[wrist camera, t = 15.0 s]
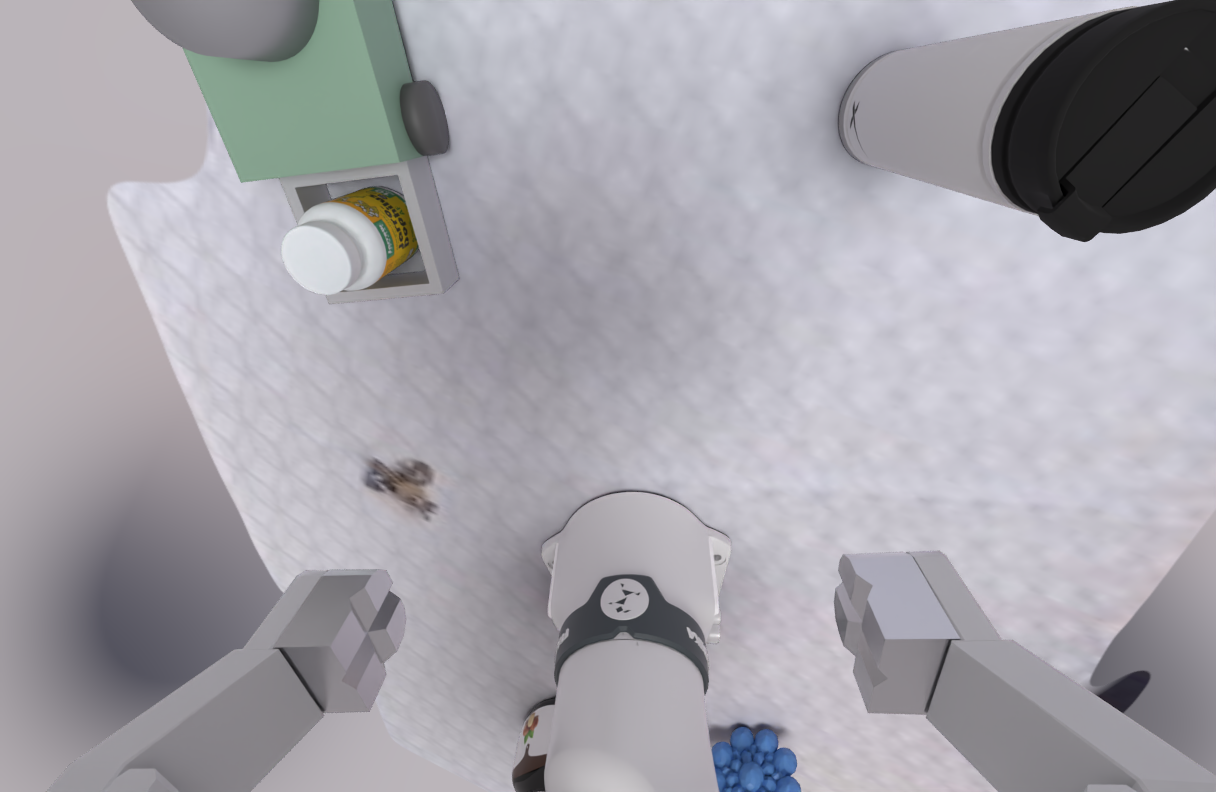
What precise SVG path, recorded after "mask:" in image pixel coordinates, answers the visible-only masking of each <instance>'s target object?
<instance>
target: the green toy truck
mask: <svg viewBox="0 0 1216 792" xmlns="http://www.w3.org/2000/svg"><path fill="white" fill-rule="evenodd" d="M131 1H132V2H133V4H134V5H135V6H136V8H137V9H138V10H139V12H140V13H141V14H142V15H143V16H144V17H145V18H146V20H147V21H148V22H149V23H150V24H152V26H154V27H155V28H156V29H157V30H158V31H159V32H160V33H161V34H163V35H164V36H165V37H166V38H168V39H169V40H171V41H172V42H174V43H175V44H177V45H179V46H181V47H182V48H183V50H184V52H185V55H186V57H187V59H188V61H189V64H190V66H191V68H192V71H193V73H194V75H195V77H196V80H197V82H198V84H199V87H200V89H201V91H202V94H203V96H204V98H205V101H206V103H207V105H208V108H209V110H210V112H211V114H212V117H213V119H214V121H215V124H216V126H217V128H218V131H219V133H220V135H221V137H222V140H223V142H224V144H225V147H226V149H227V151H228V154H229V156H230V158H231V160H232V163H233V165H234V167H235V170H236V172H237V174H238V177H239V179H240V181H241V183H242V182H250V181H257V180H265V179H273V178H279V180H280V182H281V185H282V187H283V190H284V192H285V195H286V197H287V200H288V202H289V205H290V207H291V210H292V212H293V215H294V217H295V220H296V222H297V225H298V222H299V220H300V218H301V217H302V215H303V214H304V213H305V212H306V211H307V210H309V209H310V208H312V207H313V206H315V205H318V204H321V203H323V202H326V201H329V200H331V198H330V195H329V192H328V189H327V187H326V184H328V183H337V182H345V181H353V180H361V179H369V178H377V177H385V176H393V175H398V178H399V181H400V184H401V188H402V191H403V195H404V198H405V201H406V205H407V208H408V212H409V215H410V218H411V222H412V225H413V229H414V232H415V236H416V239H417V242H418V246H419V249H420V253H421V256H422V259H423V263H424V266H425V270H426V271H423V272H413V273H403V274H393V275H385V276H384V277H382V278H381V279H380V280H378V281H377V282H376V283H374V284H373V285H371V286H369V287H367V288H364V289H361V290H355V291H347V290H343V291H341V292H339V293H336V294H332V295H326V298H327V300H328V303H329V304H340V303H350V302H361V301H371V300H382V299H392V298H403V297H413V296H424V295H434V294H444V293H445V292H446V291H447V290H448V289H449V288H450V287H451V286H452V285H453V284H454V283H455V282H456V281H457V280H458V279H460V278H459V275H458V271H457V267H456V263H455V259H454V256H453V252H452V248H451V244H450V240H449V237H448V233H447V229H446V225H445V221H444V217H443V214H442V210H441V206H440V202H439V198H438V195H437V191H436V187H435V183H434V179H433V176H432V172H431V168H430V164H429V160H428V157H427V156H428V155H436V154H443V153H445V152H446V151H447V148H448V142H449V135H448V126H447V120H446V116H445V112H444V109H443V106H442V103H441V100H440V98H439V96H438V94H437V92H436V90H435V88H434V87H433V86H432V84H431V83H430V82H428V81H426V80H425V81H418V82H413V81H412V77H411V74H410V70H409V66H408V62H407V58H406V54H405V50H404V47H403V43H402V39H401V35H400V31H399V27H398V23H397V20H396V16H395V12H394V8H393V4H392V0H131Z"/></svg>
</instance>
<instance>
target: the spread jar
mask: <svg viewBox="0 0 1216 792" xmlns="http://www.w3.org/2000/svg"><path fill="white" fill-rule="evenodd" d="M555 700H556V698H554V699H548V700H545V701H543V702H541V703H539V704H538V705H537V706H536V707H535V708H534V709H533V710H532V711H531V713H530V714H529V715H528V717H527V719H526V720H525V722H524V724H523V727H522V729H521V732H520V736H519V740H518V744H517V749H516V754H515V759H514V764H513V772H512V781H513V786H514V789H515V791H516V792H546V791H545V783H544V771H545V764H546V758H547V751H548V745H549V738H550V732H551V725H552V719H553V712H554V706H555Z"/></svg>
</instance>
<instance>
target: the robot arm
mask: <svg viewBox="0 0 1216 792" xmlns="http://www.w3.org/2000/svg"><path fill="white" fill-rule="evenodd" d="M730 554H731V541H730V539H729V538H728V537H727V536H726V535H724V534H722V533H720V532H718V531H716V530H713V529H711V528H708V527H706V526H705V525H704V524H703V523H701V522H700V521H699V520H698V519H697V517H696V516H695V515H694V514H693V513H691V512H690V511H689V510H688V509H686V508H685V507H684V506H682V505H680V504H679V503H677V502H675V501H673V500H670V499H668V498H665V497H662V496H659V495H655V494H650V493H643V492H622V493H615V494H610V495H606V496H603V497H600V498H597V499H595V500H593V501H591V502H589V503H587V504H586V505H584V506H583V507H581V508H580V509H579V510H578V511H577V512H576V513H575V514H574V515H573V516H572V517H571V518H570V520H569V521H568V523H567V525H566V526H565V528H564V529H563V530H562V531H561V532H560V533H559V534H557V535H555V536H553V537H552V538H550V539H549V540H547V541H546V542H545V543H544V544H543V545H542V552H541V556H542V559H543V561H544V563H545V565H546V567H547V568H548V570H549V572H550V574H551V576H552V579H551V586H550V594H549V602H548V616H549V617H550V618H552V621H553V623H554V625H555V627H556V628H557V630H558V631H559V632H560V635H559V641H558V643H557V647H556V652H555V672H554V676H555V682H556V685H557V693H556V700H555V706H554V712H553V719H552V725H551V732H550V738H549V745H548V751H547V758H546V764H545V771H544V783H545V791H546V792H719V788H718V783H717V777H716V772H715V766H714V761H713V755H712V749H711V742H710V736H709V729H708V721H707V714H706V705H705V694H706V692H707V689H708V683H709V679H708V673H709V659H708V653H707V650H706V643H709V644H717V643H719V639H720V622H721V612H720V609H719V601H718V597H719V594H720V590H721V587H722V583H723V579H724V576H725V572H726V569H727V565H728V562H729V558H730ZM838 571H839V574H840V576H841V579H842V581H843V582H842V583H841V584H840V585H839V586H838V587H837V588H835V598H834V607H835V618H836V622H837V626H838V631H839V634H840V637H841V640H842V642H843V645H844V647H845V648H847V649H848V650H849V651H850V652H851V653H852V654H853V655H855V656H856V658H855V663H854V669H853V673H854V676H855V679H856V681H857V684H858V687H859V690H860V692H861V695H862V698H863V700H864V703H865V706H866V709H867V711H868V713H887V714H920V715H927V716H926V718H927V719H928V720H929V721H930V722H931V723H932V724H933V725H934V726H935V728H936V729H937V730H938V731H939V732H940V733H941V734H942V735H943V736H944V737H945V738H946V739H947V740H948V741H949V742H950V743H951V744H952V745H953V746H954V747H955V748H956V749H957V750H958V751H959V752H960V753H961V754H962V755H963V756H964V757H965V758H966V759H967V760H968V761H969V762H970V763H971V764H972V765H973V766H974V767H975V768H976V769H977V770H978V771H979V773H980V774H981V775H982V776H983V777H984V778H985V779H986V780H987V781H988V782H989V783H990V784H991V785H992V786H993V787H994V788H995V789H996V790H997V791H998V792H1216V776H1215V775H1214V774H1212V773H1211V772H1209V771H1207V770H1206V769H1205V768H1203V767H1202V766H1200V765H1199V764H1197V763H1196V762H1194V761H1193V760H1191V759H1190V758H1188V757H1187V756H1185V755H1184V754H1182V753H1181V752H1179V751H1178V750H1176V749H1175V748H1173V747H1172V746H1170V745H1169V744H1168V743H1166V742H1164V741H1163V740H1162V739H1160V738H1158V737H1157V736H1156V735H1154V734H1152V733H1151V732H1150V731H1148V730H1147V729H1145V728H1144V727H1142V726H1141V725H1139V724H1137V723H1136V722H1135V721H1133V720H1132V719H1130V718H1129V717H1127V716H1126V715H1124V714H1123V713H1121V712H1120V711H1118V710H1117V709H1115V708H1114V707H1112V706H1111V705H1109V704H1108V703H1106V702H1105V701H1103V700H1102V699H1100V698H1099V697H1097V696H1096V695H1094V694H1093V693H1091V692H1090V691H1088V690H1087V689H1085V688H1084V687H1083V686H1081V685H1080V684H1078V683H1077V682H1075V681H1074V680H1072V679H1071V678H1069V677H1068V676H1066V675H1065V674H1063V673H1062V672H1060V671H1059V670H1057V669H1056V668H1054V667H1053V666H1051V665H1050V664H1048V663H1047V662H1045V661H1044V660H1042V659H1041V658H1039V657H1038V656H1036V655H1035V654H1033V653H1032V652H1030V651H1029V650H1027V649H1026V648H1024V647H1023V646H1021V645H1020V644H1018V643H1017V642H1015V641H1014V640H1002V639H1001V637H1000V636H999V634H998V633H997V631H996V630H995V628H994V627H993V625H992V624H991V622H990V621H989V619H988V618H987V616H986V615H985V613H984V612H983V610H982V609H981V607H980V606H979V604H978V603H977V601H976V600H975V598H974V597H973V595H972V594H971V592H970V591H969V589H968V588H967V586H966V585H965V583H964V582H963V580H962V579H961V577H960V576H959V574H958V573H957V571H956V570H955V568H954V567H953V565H952V564H951V562H950V561H949V559H948V558H947V556H946V555H945V554H943V553H942V552H940V551H919V552H906V553H905V552H886V553H862V554H843V555H842V557H841V559H840V562H839V568H838ZM392 584H393V581H392V580H391V578H390V576H389V574H388V572H387V570H379V569H359V570H306V571H304V572H302V573H301V574H299V575H298V576H296V578H295V579H294V580H293V582H292V583H291V584H290V586H289V587H288V589H287V590H286V591H285V593H284V594H283V595H282V597H281V598H280V599H279V601H278V602H277V603H276V605H275V606H274V608H273V609H272V610H271V611H270V613H269V614H268V616H267V617H266V618H265V620H264V621H263V622H262V624H261V625H260V626H259V628H258V629H257V630H256V632H255V633H254V635H253V636H252V637H251V639H250V640H249V641H248V643H247V644H246V645H245V647H244V648H243V649H236V650H233V651H232V652H230V653H229V654H227V655H226V656H225V657H223V658H222V659H220V660H219V661H217V662H216V663H214V664H213V665H212V666H210V667H209V668H207V669H206V670H204V671H203V672H202V673H200V674H199V675H197V676H196V677H194V678H193V679H192V680H190V681H189V682H187V683H186V684H184V685H183V686H181V687H180V688H179V689H177V690H176V691H174V692H173V693H171V694H170V695H169V696H167V697H166V698H164V699H163V700H161V701H160V702H158V703H157V704H156V705H154V706H153V707H151V708H150V709H148V710H147V711H145V712H144V713H143V714H141V715H140V716H138V717H137V718H136V719H134V720H133V721H131V722H130V723H128V724H127V725H125V726H124V727H123V728H121V729H120V730H118V731H117V732H115V733H114V734H112V735H111V736H110V737H108V738H107V739H105V740H104V741H103V742H101V743H100V744H98V745H97V746H95V747H94V748H92V749H91V750H89V751H88V752H87V753H85V754H84V755H82V756H81V757H79V758H78V759H76V760H75V761H74V762H72V763H71V764H69V766H68V767H67V768H66V769H65V770H64V771H63V773H62V774H61V775H60V776H59V777H58V779H57V780H56V781H55V782H54V783H53V784H52V785H51V786H50V788H49V789H48V790H47V791H46V792H251V791H252V790H253V789H254V787H256V785H257V784H258V783H259V782H260V781H261V780H262V779H263V778H264V777H265V776H266V775H267V774H268V773H269V772H270V771H271V770H272V769H273V768H274V767H275V766H276V765H277V764H278V763H279V762H280V761H281V760H282V759H283V758H284V757H285V755H287V754H288V752H290V751H291V749H292V748H293V747H294V746H295V745H296V744H297V743H298V742H299V741H300V740H301V739H302V738H303V737H304V736H305V735H306V734H307V733H308V732H309V731H310V730H311V729H312V728H313V727H314V726H315V725H316V724H317V723H318V722H319V720H321V719H322V718H323V716H324V714H323V713H343V712H370V710H371V708H372V705H373V703H374V701H375V699H376V697H377V694H378V692H379V690H380V688H381V686H382V683H383V681H384V679H385V677H386V670H385V666H384V662H385V661H387V660H388V659H389V658H390V657H391V656H392V655H393V654H394V653H396V652H397V650H398V648H399V646H400V643H401V641H402V639H403V636H404V630H405V624H406V615H405V608H404V605H403V603H402V601H401V599H400V598H399V597H397V596H396V595H395V594H393V593H392V592H390V591H389V590H390V588H391V586H392Z"/></svg>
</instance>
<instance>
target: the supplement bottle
mask: <svg viewBox="0 0 1216 792" xmlns="http://www.w3.org/2000/svg"><path fill="white" fill-rule="evenodd" d="M418 249H419V246H418V242H417V239H416V236H415V232H414V229H413V225H412V222H411V218H410V215H409V212H408V208H407V205H406V201H405V198H404V196H402V195H401V194H399V193H397V192H395V191H393V190H390V189H388V188H384V187H378V186H374V187H368V188H364V189H361V190H358V191H356V192H353V193H350V194H347V195H344V196H341V197H338V198H335V199H332V200H329V201H326V202H323V203H321V204H318V205H315V206H313V207H312V208H310V209H309V210H307V211H306V212H305V213H304V214H303V215H302V217H301V218H300V220H299V222H298V225H297V227H295V228H293V229H291V230H290V231H289V232H288V233H287V234H286V235H285V237H284V239H283V241H282V245H281V255H282V260H283V263H284V265H285V267H286V269H287V271H288V272H289V274H290V275H291V277H292V278H293V279H294V280H295V281H296V282H297V283H298V284H299V285H301V286H302V287H304V288H305V289H307V290H309V291H311V292H313V293H317V294H321V295H332V294H336V293H339V292H341V291H343V290H347V291H355V290H361V289H364V288H367V287H369V286H371V285H373V284H374V283H376V282H377V281H378V280H380V279H381V278H382V277H384V276H385V275H387V274H388V273H390V272H391V271H392V270H394V269H395V268H397V267H398V266H400V265H401V264H403V263H404V262H405V261H407V260H408V259H409V258H411V257H412V256H413V255H414V254H415V253H416V252H417V250H418Z"/></svg>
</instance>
